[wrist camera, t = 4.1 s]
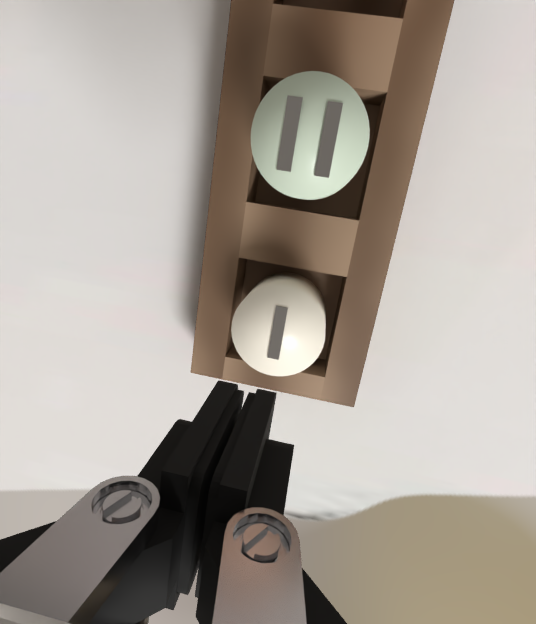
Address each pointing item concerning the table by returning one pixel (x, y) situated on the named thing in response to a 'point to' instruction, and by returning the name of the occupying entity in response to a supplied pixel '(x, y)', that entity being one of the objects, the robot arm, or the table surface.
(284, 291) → the button
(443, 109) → the table surface
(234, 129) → the button board
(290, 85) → the button
